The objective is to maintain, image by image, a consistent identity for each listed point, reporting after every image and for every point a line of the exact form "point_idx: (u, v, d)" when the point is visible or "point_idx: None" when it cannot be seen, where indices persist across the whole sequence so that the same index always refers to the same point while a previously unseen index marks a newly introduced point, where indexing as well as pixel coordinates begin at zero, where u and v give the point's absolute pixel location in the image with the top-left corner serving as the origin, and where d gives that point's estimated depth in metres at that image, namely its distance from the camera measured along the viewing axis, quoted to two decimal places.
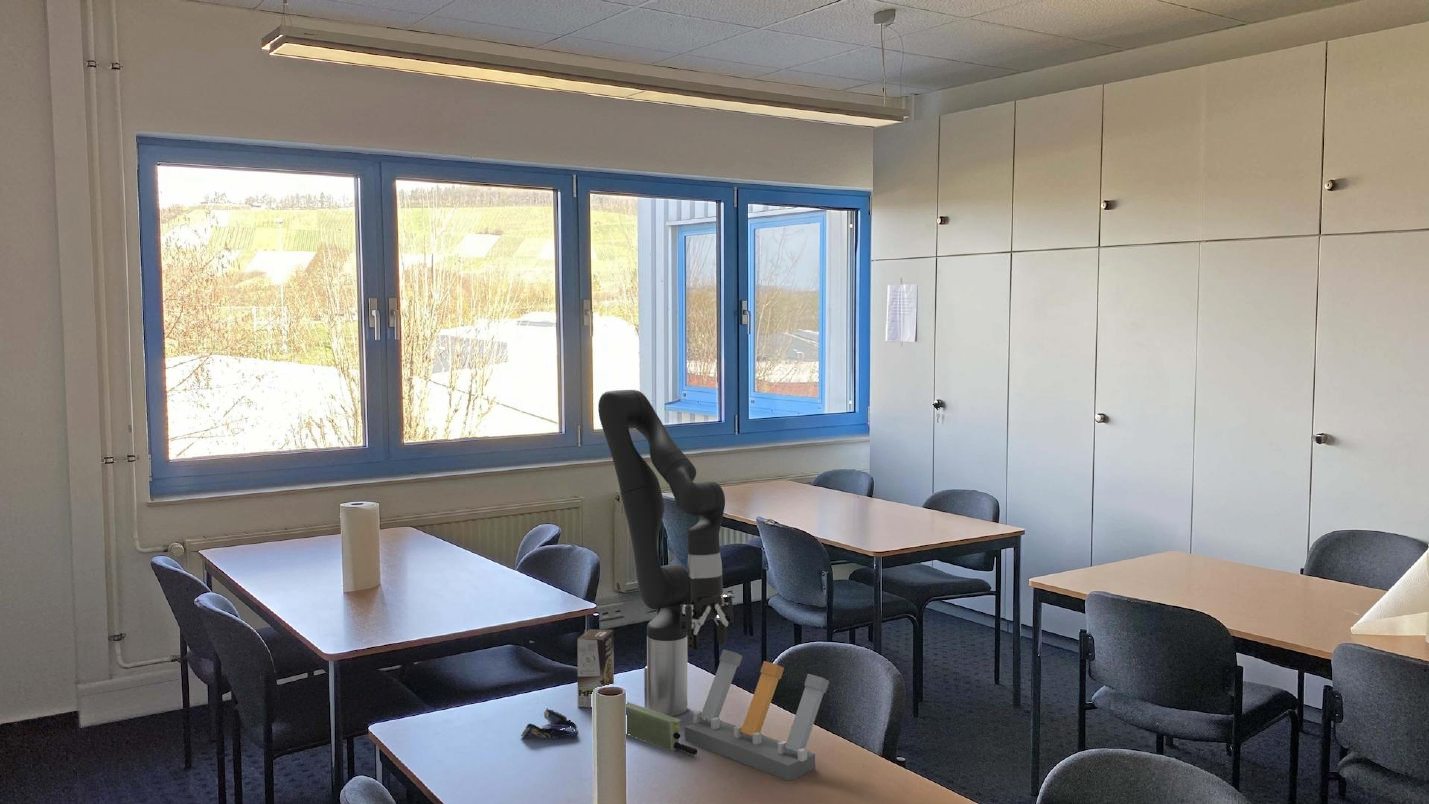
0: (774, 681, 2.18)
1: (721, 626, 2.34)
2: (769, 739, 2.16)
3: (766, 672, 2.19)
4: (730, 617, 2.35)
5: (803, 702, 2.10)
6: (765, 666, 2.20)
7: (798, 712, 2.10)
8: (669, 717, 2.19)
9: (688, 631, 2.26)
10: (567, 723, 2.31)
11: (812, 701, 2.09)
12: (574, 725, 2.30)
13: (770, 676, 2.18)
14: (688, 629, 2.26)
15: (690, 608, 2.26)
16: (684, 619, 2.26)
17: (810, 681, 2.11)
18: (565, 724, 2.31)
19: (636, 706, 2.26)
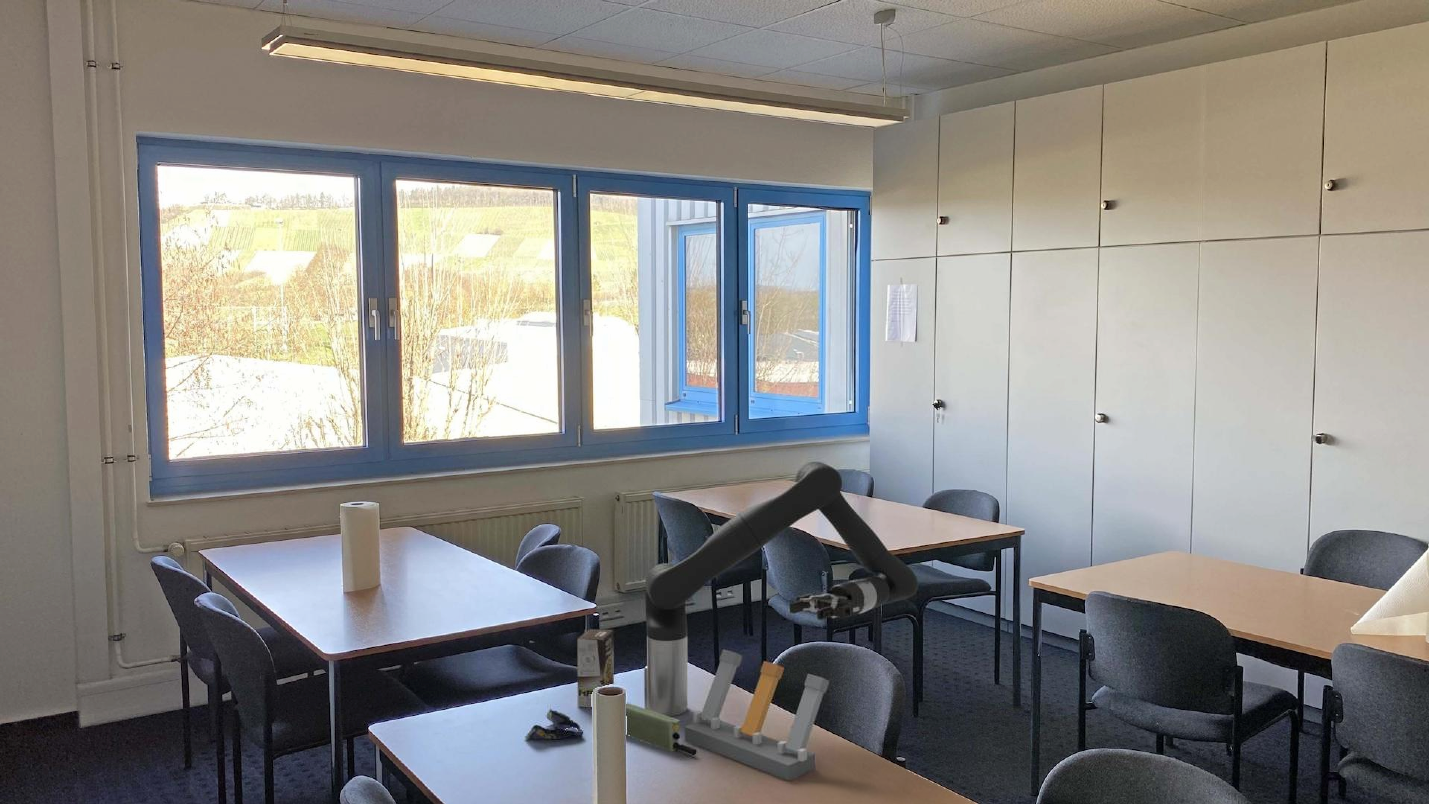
0: (774, 681, 2.18)
1: (803, 606, 2.32)
2: (769, 739, 2.16)
3: (766, 672, 2.19)
4: None
5: (803, 702, 2.10)
6: (765, 666, 2.20)
7: (798, 712, 2.10)
8: (668, 717, 2.19)
9: None
10: (569, 723, 2.31)
11: (812, 701, 2.09)
12: (577, 725, 2.30)
13: (770, 676, 2.18)
14: None
15: None
16: (851, 612, 2.27)
17: (810, 681, 2.11)
18: (567, 724, 2.31)
19: (634, 707, 2.25)
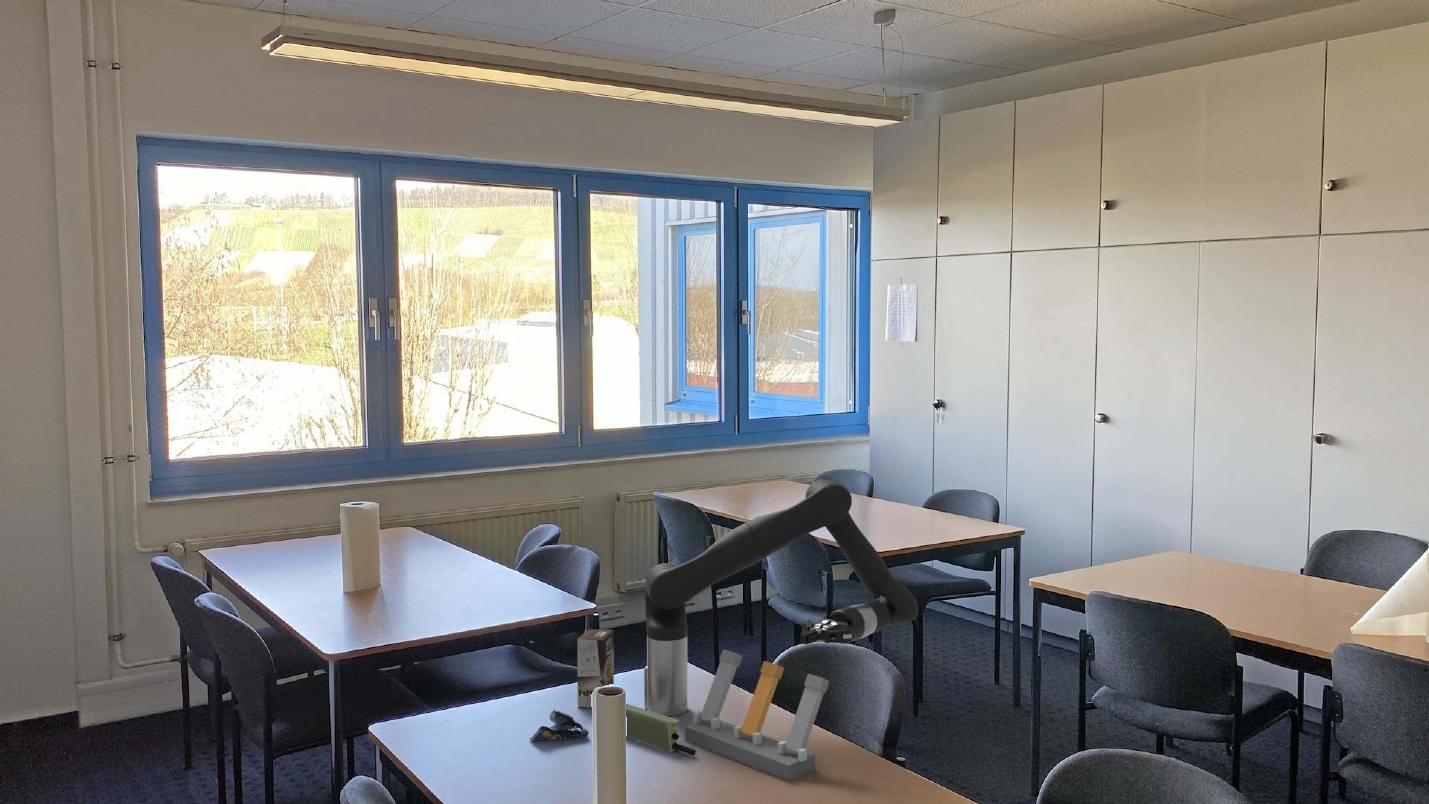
0: (774, 681, 2.18)
1: None
2: (769, 739, 2.16)
3: (766, 672, 2.19)
4: None
5: (803, 702, 2.10)
6: (765, 666, 2.20)
7: (798, 712, 2.10)
8: (667, 718, 2.18)
9: (827, 642, 2.28)
10: (571, 724, 2.31)
11: (812, 701, 2.09)
12: (579, 725, 2.30)
13: (770, 676, 2.18)
14: (829, 642, 2.28)
15: None
16: (838, 638, 2.28)
17: (810, 681, 2.11)
18: (569, 725, 2.30)
19: (633, 707, 2.25)
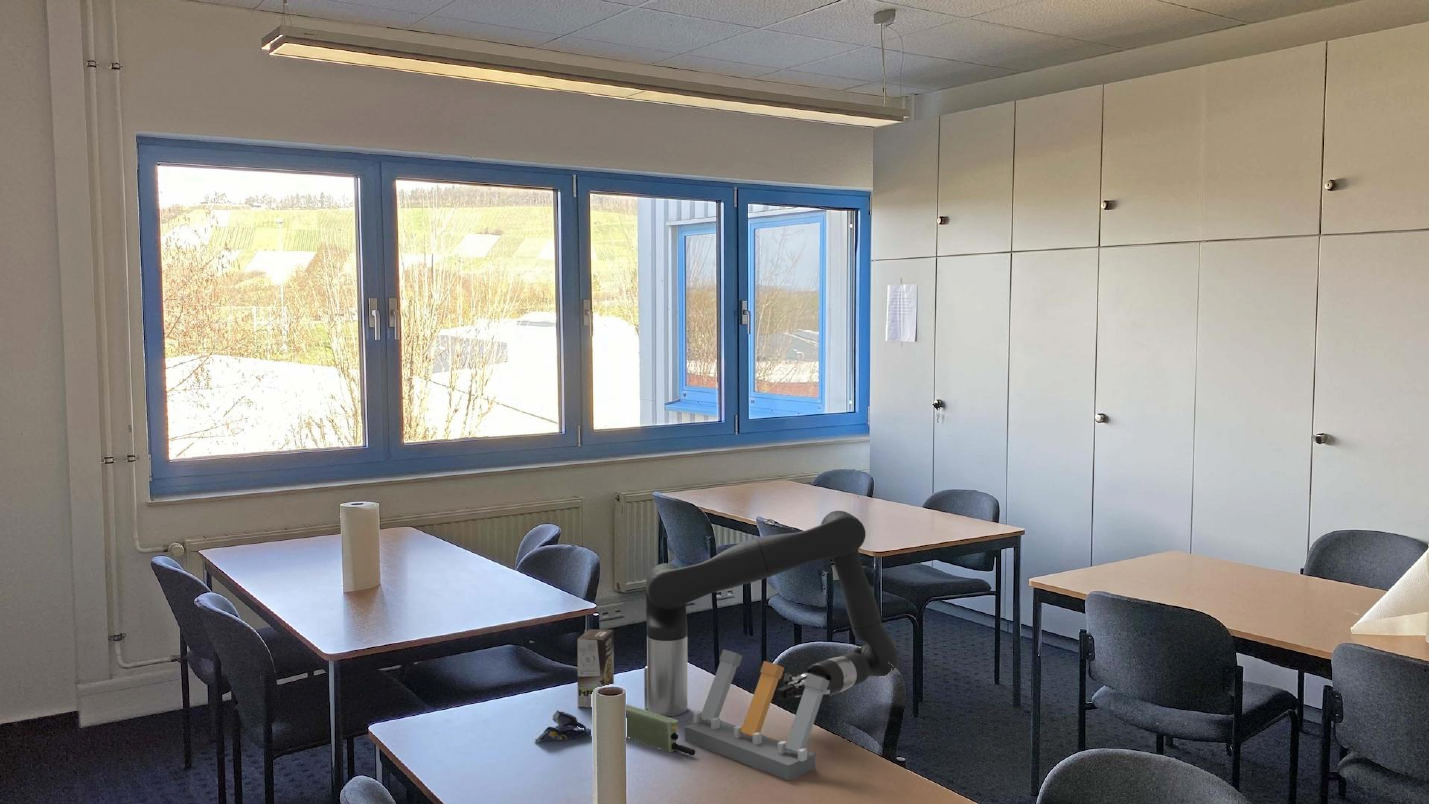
0: (774, 681, 2.18)
1: None
2: (769, 739, 2.16)
3: (766, 672, 2.19)
4: None
5: (803, 702, 2.10)
6: (765, 666, 2.20)
7: (798, 712, 2.10)
8: (666, 718, 2.18)
9: None
10: (573, 724, 2.31)
11: (812, 701, 2.09)
12: (581, 725, 2.31)
13: (770, 676, 2.18)
14: None
15: None
16: None
17: (810, 681, 2.11)
18: (572, 725, 2.30)
19: (631, 708, 2.25)
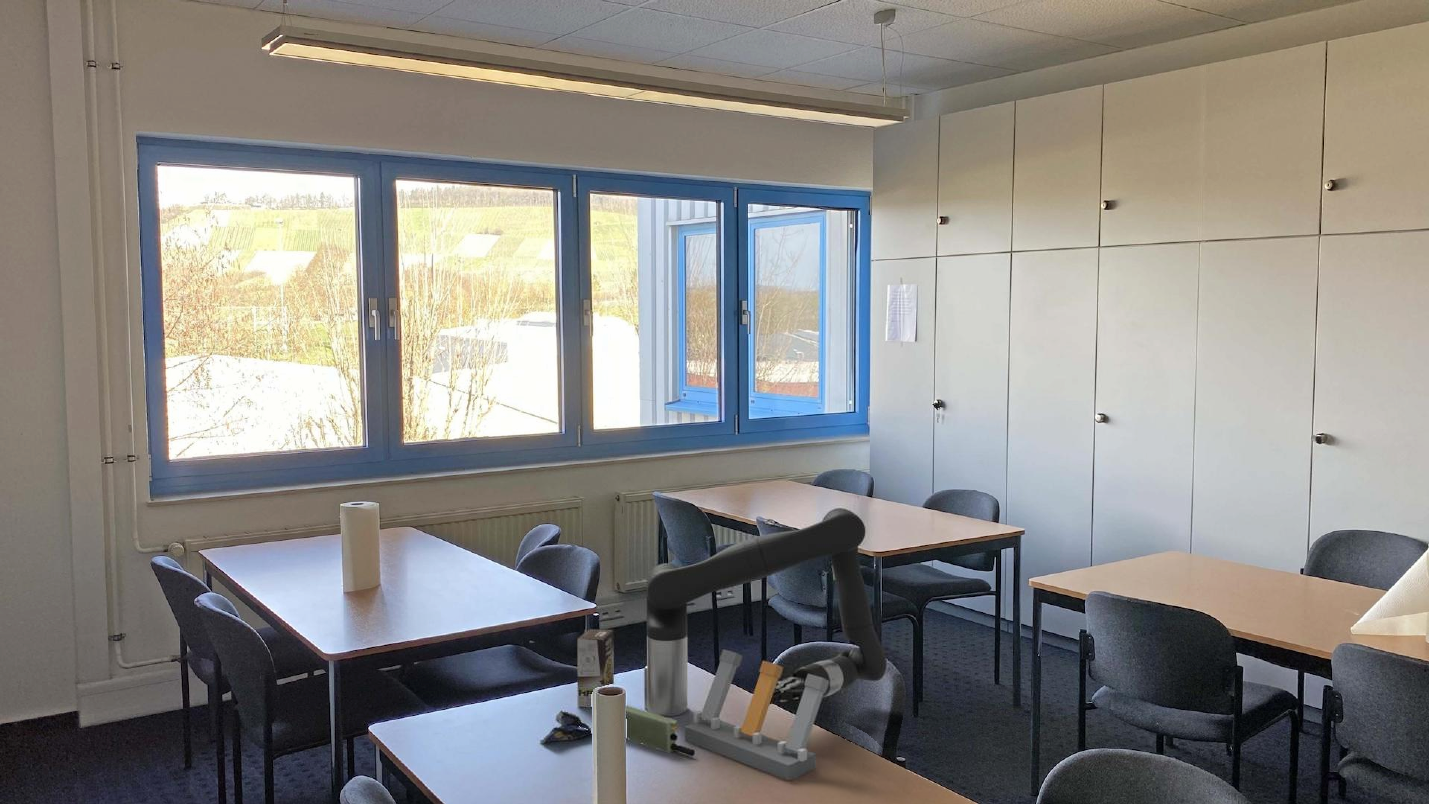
0: (773, 681, 2.18)
1: None
2: (769, 739, 2.16)
3: (765, 672, 2.19)
4: None
5: (803, 702, 2.10)
6: (764, 666, 2.20)
7: (798, 712, 2.10)
8: (665, 718, 2.18)
9: (790, 702, 2.20)
10: (575, 724, 2.31)
11: (812, 701, 2.09)
12: (583, 725, 2.31)
13: (769, 676, 2.18)
14: (792, 702, 2.20)
15: None
16: None
17: (810, 681, 2.11)
18: (574, 725, 2.30)
19: (630, 708, 2.24)
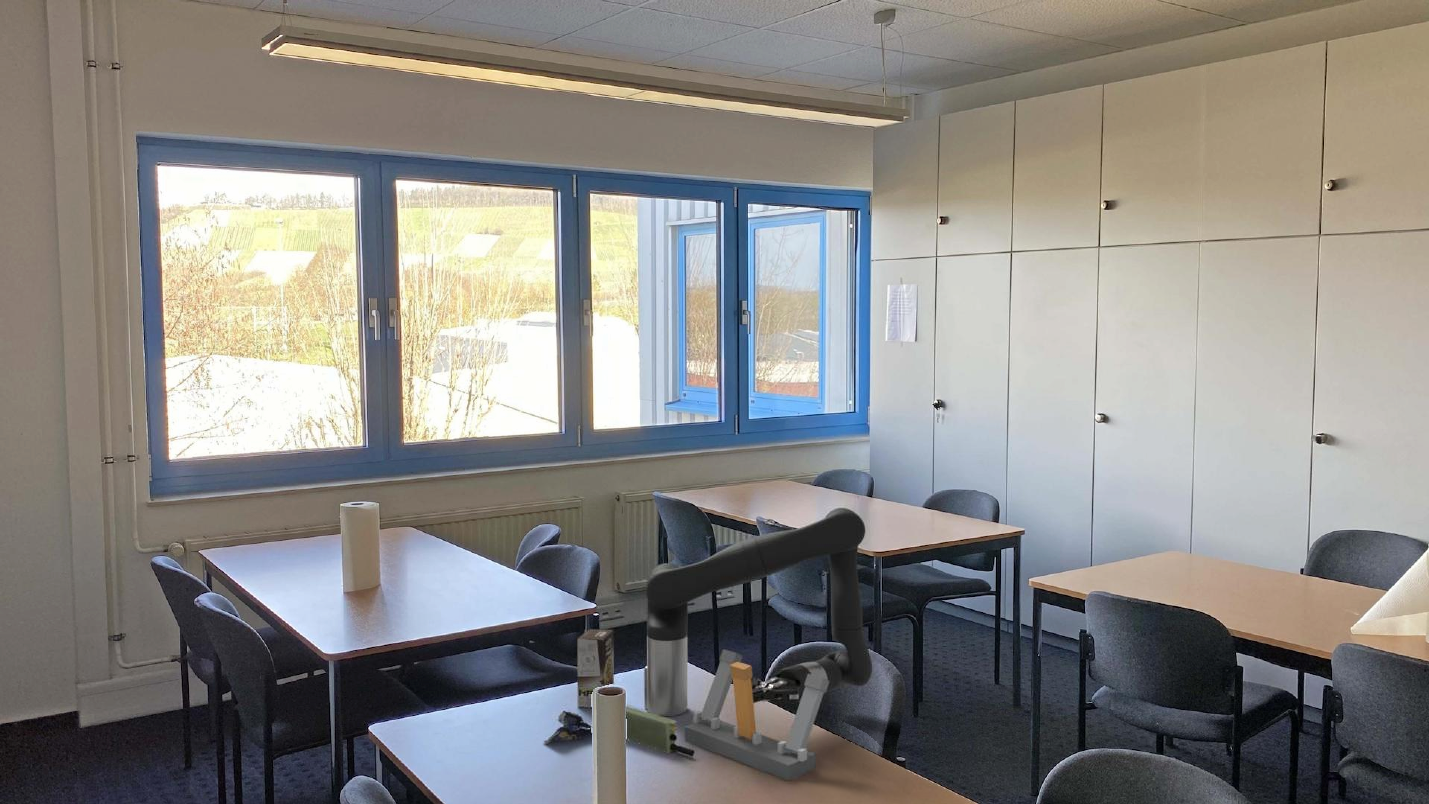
0: (747, 683, 2.12)
1: None
2: (769, 739, 2.16)
3: (736, 677, 2.13)
4: None
5: (803, 702, 2.10)
6: (733, 671, 2.13)
7: (798, 712, 2.10)
8: (665, 719, 2.18)
9: (772, 702, 2.16)
10: (577, 723, 2.31)
11: (812, 701, 2.09)
12: (585, 724, 2.31)
13: (741, 680, 2.12)
14: (774, 702, 2.16)
15: None
16: (784, 698, 2.16)
17: (810, 681, 2.11)
18: (576, 725, 2.30)
19: (629, 709, 2.24)
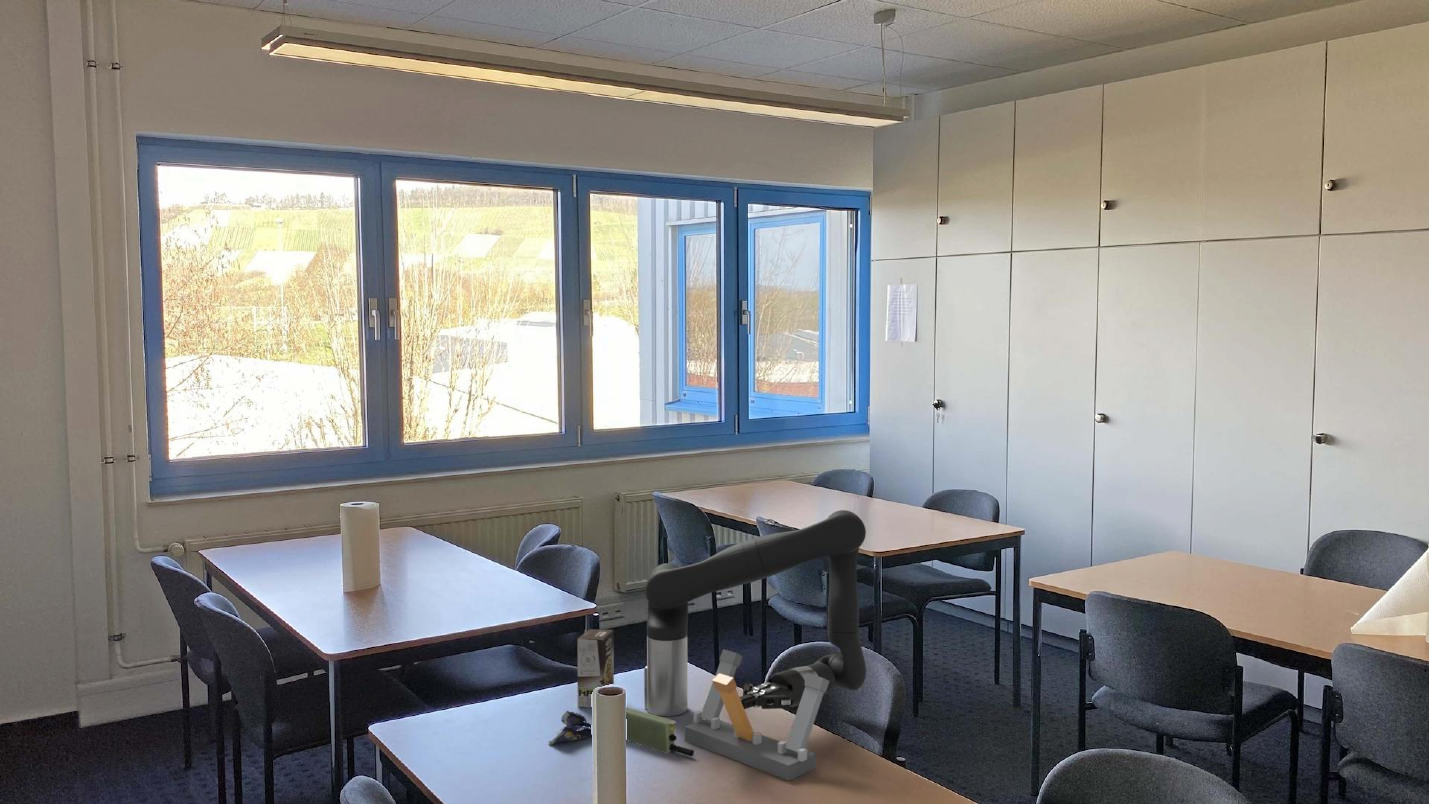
0: (733, 694, 2.09)
1: None
2: (769, 739, 2.16)
3: (721, 690, 2.10)
4: None
5: (803, 702, 2.10)
6: (716, 685, 2.10)
7: (798, 712, 2.10)
8: (664, 719, 2.18)
9: (764, 708, 2.14)
10: (579, 723, 2.31)
11: (812, 701, 2.09)
12: (587, 724, 2.31)
13: (727, 692, 2.09)
14: (766, 708, 2.14)
15: None
16: (776, 704, 2.14)
17: (810, 681, 2.11)
18: (578, 725, 2.30)
19: (628, 709, 2.24)
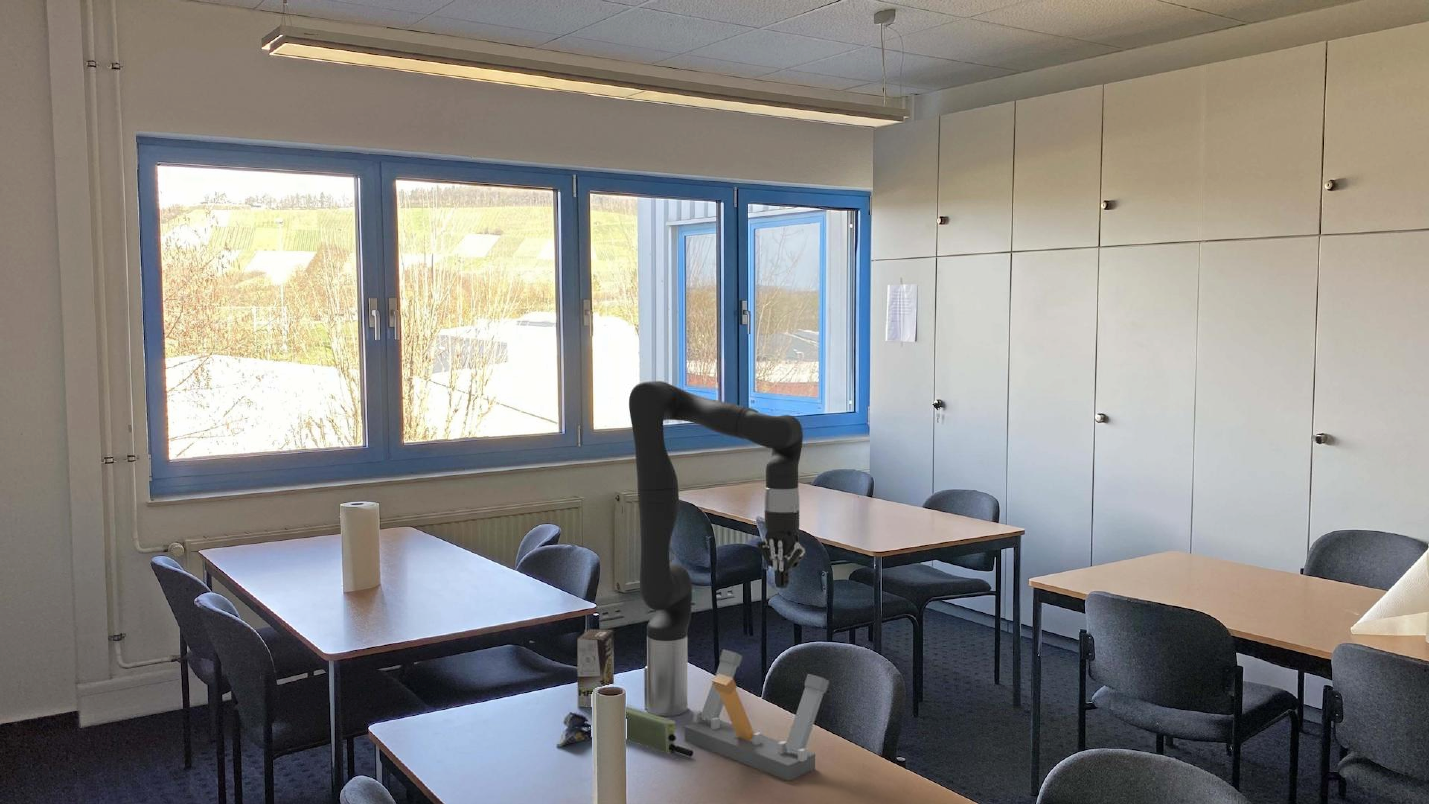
0: (733, 695, 2.09)
1: None
2: (769, 739, 2.16)
3: (721, 690, 2.10)
4: None
5: (803, 702, 2.10)
6: (716, 685, 2.10)
7: (798, 712, 2.10)
8: (664, 719, 2.18)
9: None
10: (577, 724, 2.30)
11: (812, 701, 2.09)
12: (586, 724, 2.31)
13: (727, 693, 2.09)
14: None
15: None
16: (798, 560, 2.25)
17: (810, 681, 2.11)
18: (577, 726, 2.30)
19: (629, 709, 2.24)
